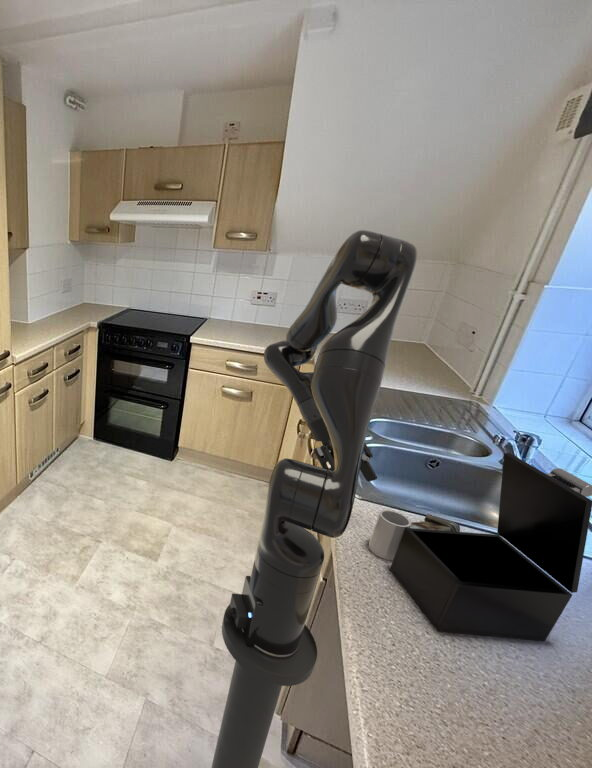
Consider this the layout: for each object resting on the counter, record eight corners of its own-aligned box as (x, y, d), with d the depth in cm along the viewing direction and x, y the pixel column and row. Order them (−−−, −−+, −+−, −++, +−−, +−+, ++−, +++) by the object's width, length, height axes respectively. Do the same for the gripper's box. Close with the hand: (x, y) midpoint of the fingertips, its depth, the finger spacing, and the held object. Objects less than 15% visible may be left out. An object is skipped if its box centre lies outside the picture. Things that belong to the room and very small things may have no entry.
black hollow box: (438, 631, 69) (459, 585, 66) (389, 569, 82) (405, 527, 78) (545, 641, 68) (573, 594, 64) (478, 576, 81) (498, 534, 77)
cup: (377, 559, 84) (389, 525, 81) (363, 541, 89) (374, 508, 86) (404, 561, 84) (417, 527, 81) (388, 543, 89) (400, 510, 86)
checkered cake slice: (391, 518, 97) (412, 510, 87) (425, 514, 96) (450, 506, 85) (409, 562, 93) (433, 559, 82) (445, 558, 91) (474, 555, 81)
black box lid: (586, 501, 59) (631, 495, 58) (503, 453, 71) (539, 447, 70) (571, 593, 64) (612, 588, 63) (497, 532, 77) (530, 528, 76)
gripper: (317, 416, 87) (359, 490, 82) (355, 404, 94) (396, 472, 89) (289, 428, 94) (327, 498, 88) (327, 416, 100) (364, 481, 95)
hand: (361, 485), depth 88 cm, fingers open, 8 cm apart
